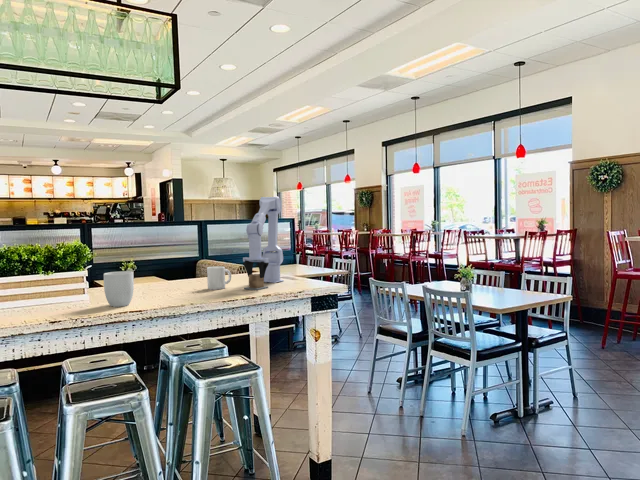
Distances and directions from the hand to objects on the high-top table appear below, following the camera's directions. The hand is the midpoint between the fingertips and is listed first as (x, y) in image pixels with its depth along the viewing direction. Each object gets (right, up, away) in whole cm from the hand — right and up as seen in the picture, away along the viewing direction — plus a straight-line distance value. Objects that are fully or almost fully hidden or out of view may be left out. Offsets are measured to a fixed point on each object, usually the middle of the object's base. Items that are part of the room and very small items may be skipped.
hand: (256, 277), depth 230 cm
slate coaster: (0, -5, 0) cm, 5 cm away
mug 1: (-49, -9, -36) cm, 62 cm away
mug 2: (-18, -6, +4) cm, 19 cm away
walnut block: (0, -5, 0) cm, 5 cm away
